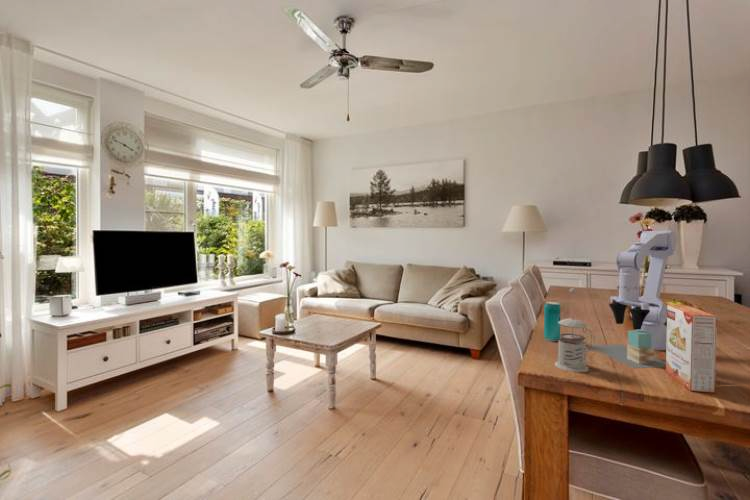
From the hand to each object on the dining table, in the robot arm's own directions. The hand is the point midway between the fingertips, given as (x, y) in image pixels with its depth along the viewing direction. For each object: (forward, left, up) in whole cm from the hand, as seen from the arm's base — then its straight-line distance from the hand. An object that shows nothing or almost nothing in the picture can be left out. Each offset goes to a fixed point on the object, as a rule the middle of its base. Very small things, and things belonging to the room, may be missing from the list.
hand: (628, 326), depth 126 cm
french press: (+24, +8, -11) cm, 27 cm away
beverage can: (+15, -20, -11) cm, 28 cm away
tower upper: (0, +6, -8) cm, 9 cm away
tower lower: (0, +6, -10) cm, 11 cm away
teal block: (0, +5, -5) cm, 7 cm away
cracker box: (0, +23, -11) cm, 25 cm away
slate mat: (0, 0, -10) cm, 10 cm away
